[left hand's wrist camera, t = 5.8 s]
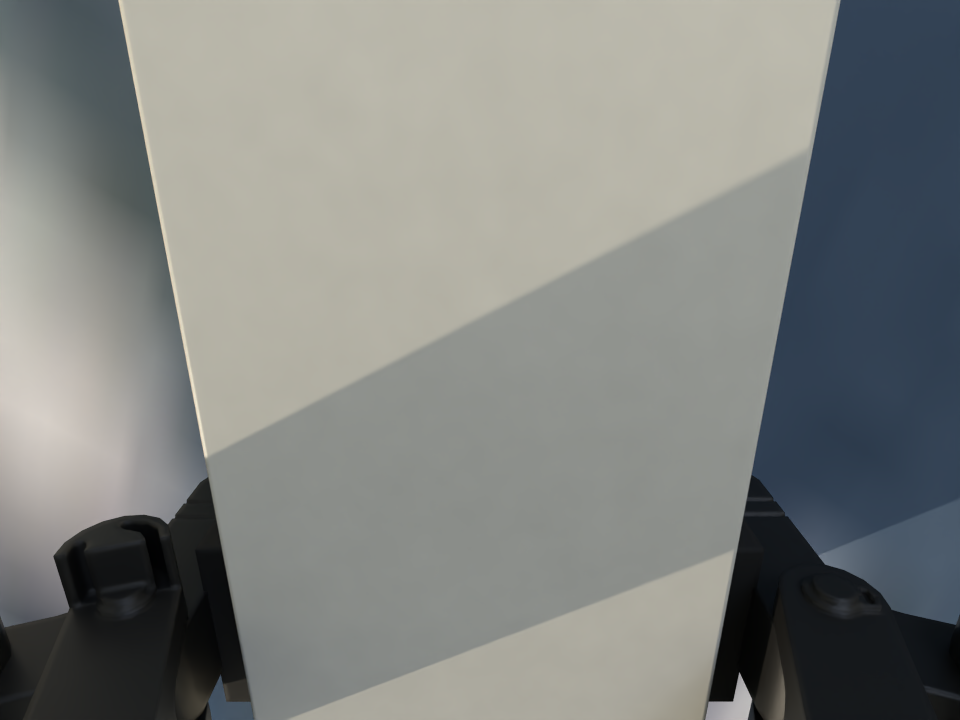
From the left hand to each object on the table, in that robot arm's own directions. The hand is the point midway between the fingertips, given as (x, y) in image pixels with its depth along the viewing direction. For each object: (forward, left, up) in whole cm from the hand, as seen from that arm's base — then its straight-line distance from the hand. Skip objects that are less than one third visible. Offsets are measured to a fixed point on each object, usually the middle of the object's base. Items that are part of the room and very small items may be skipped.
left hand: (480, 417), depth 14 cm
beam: (+33, +7, 0) cm, 34 cm away
